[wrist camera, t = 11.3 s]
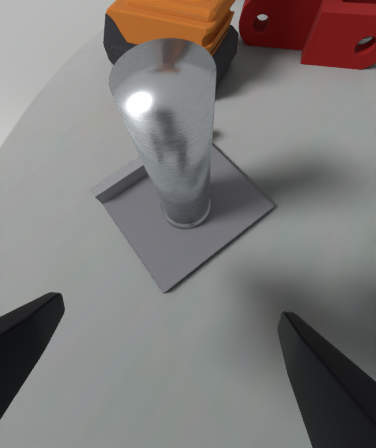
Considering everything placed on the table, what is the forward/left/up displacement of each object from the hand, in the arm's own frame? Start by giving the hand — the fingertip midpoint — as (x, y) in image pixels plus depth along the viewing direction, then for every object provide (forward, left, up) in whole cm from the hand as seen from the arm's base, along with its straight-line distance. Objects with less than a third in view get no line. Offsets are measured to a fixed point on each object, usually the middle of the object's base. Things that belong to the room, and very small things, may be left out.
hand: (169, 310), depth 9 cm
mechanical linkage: (+15, -29, -9) cm, 34 cm away
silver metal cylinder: (+7, -5, -8) cm, 12 cm away
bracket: (+7, -5, -9) cm, 12 cm away
